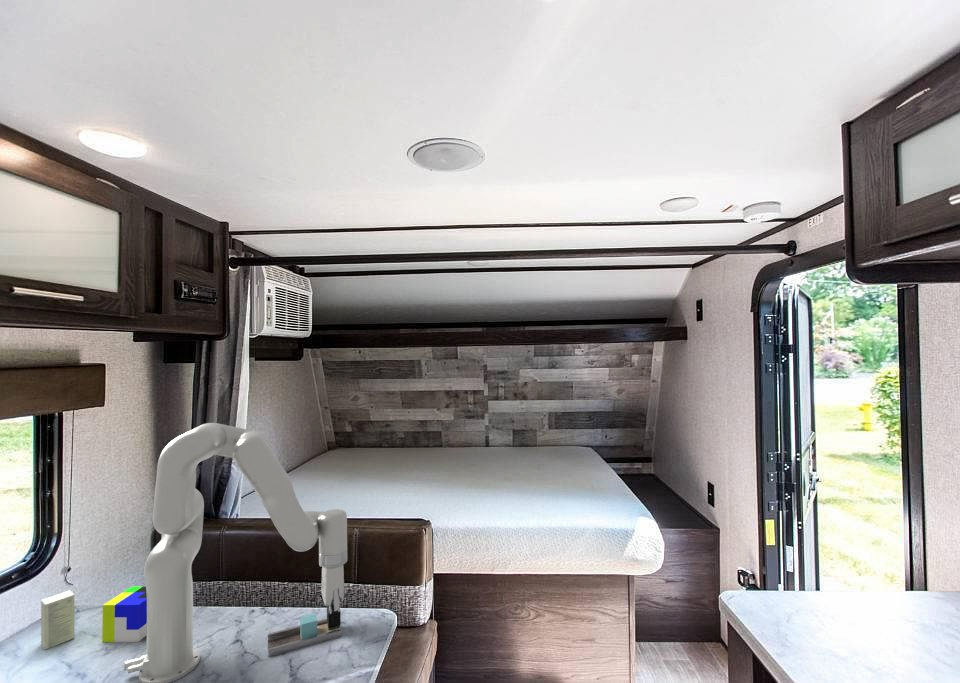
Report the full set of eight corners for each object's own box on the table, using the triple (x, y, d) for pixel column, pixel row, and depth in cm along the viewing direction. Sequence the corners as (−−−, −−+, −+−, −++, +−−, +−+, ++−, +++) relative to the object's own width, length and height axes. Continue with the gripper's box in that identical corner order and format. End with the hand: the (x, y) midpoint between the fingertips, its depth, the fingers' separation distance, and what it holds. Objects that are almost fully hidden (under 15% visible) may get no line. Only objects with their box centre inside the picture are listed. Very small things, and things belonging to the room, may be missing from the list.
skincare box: (70, 633, 128) (71, 589, 128) (74, 638, 125) (75, 593, 125) (39, 644, 122) (40, 599, 123) (43, 650, 120) (44, 604, 120)
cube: (301, 640, 120) (301, 624, 120) (300, 631, 123) (300, 616, 123) (317, 635, 121) (317, 620, 121) (315, 627, 125) (315, 613, 125)
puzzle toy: (138, 642, 123) (138, 604, 123) (102, 642, 123) (102, 605, 123) (164, 620, 133) (164, 586, 133) (131, 621, 133) (131, 586, 133)
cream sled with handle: (301, 644, 119) (301, 622, 119) (300, 633, 124) (300, 611, 124) (340, 633, 123) (340, 612, 123) (337, 623, 128) (337, 602, 128)
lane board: (268, 660, 114) (268, 650, 114) (267, 642, 121) (267, 633, 121) (341, 639, 122) (341, 630, 122) (337, 624, 129) (337, 615, 129)
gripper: (315, 548, 131) (316, 613, 131) (322, 571, 117) (323, 644, 116) (342, 543, 135) (342, 606, 134) (352, 565, 120) (352, 635, 120)
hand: (333, 623), depth 125 cm, fingers closed on cream sled with handle, 2 cm apart
